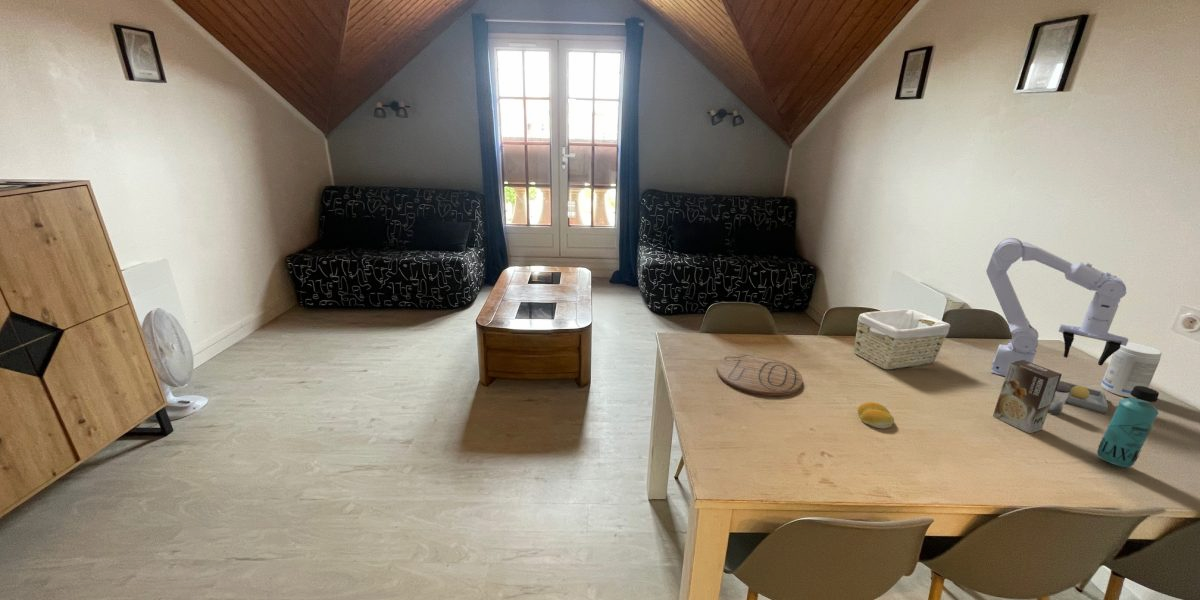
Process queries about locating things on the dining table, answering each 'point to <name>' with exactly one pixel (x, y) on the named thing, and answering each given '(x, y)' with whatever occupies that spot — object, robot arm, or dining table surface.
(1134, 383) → the supplement tub
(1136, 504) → the dining table surface
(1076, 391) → the ball
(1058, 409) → the shaker cup
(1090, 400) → the dish
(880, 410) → the bread roll
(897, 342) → the storage basket
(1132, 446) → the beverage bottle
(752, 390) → the trivet
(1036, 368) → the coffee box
